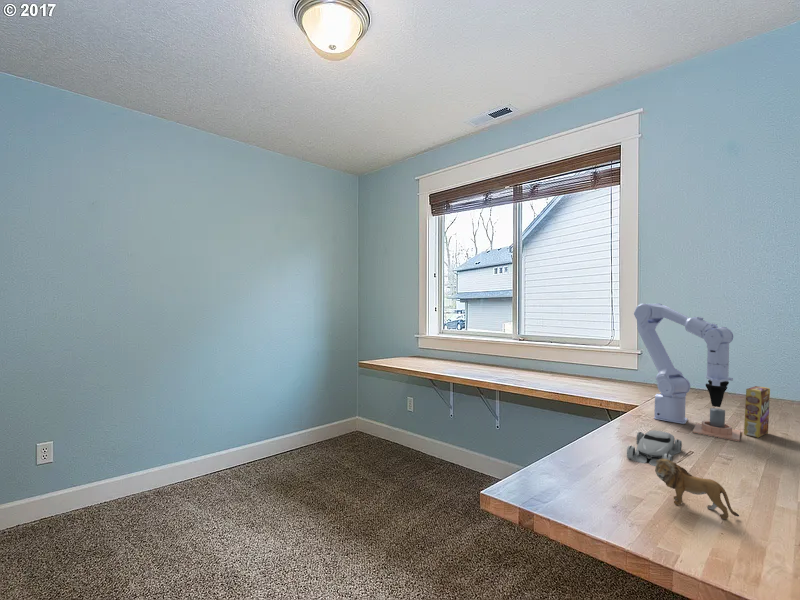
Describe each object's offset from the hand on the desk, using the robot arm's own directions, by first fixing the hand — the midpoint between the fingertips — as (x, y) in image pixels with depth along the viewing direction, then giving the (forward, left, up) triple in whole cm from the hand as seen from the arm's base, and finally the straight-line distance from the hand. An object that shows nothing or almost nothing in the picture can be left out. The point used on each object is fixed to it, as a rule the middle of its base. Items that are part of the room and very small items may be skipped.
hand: (717, 404), depth 138 cm
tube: (0, 0, -9) cm, 9 cm away
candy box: (+10, +7, -10) cm, 16 cm away
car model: (-12, -34, -10) cm, 38 cm away
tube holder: (0, 0, -9) cm, 9 cm away
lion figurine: (-1, -66, -10) cm, 66 cm away
